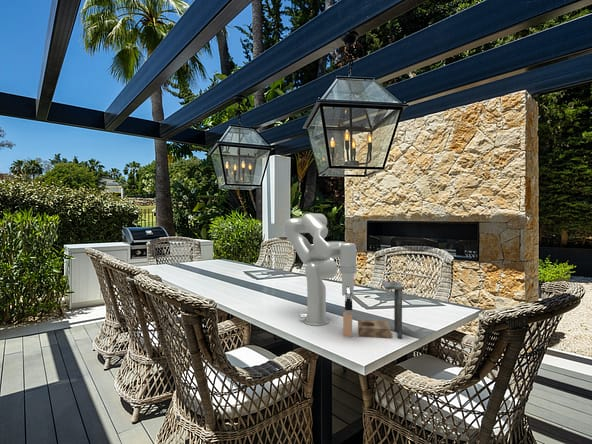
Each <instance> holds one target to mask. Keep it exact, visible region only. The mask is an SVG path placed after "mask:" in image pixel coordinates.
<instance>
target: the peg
mask: <svg viewBox="0 0 592 444" xmlns="http://www.w3.org/2000/svg"><path fill="white" fill-rule="evenodd" d="M342 325H343V327H342V330H343V331H342V334H343V335H342V337H344V338H346V337H348V338H353V312H350V311H349V312H348V311H344V312H343V313H342Z"/></svg>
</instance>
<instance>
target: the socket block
mask: <svg viewBox="0 0 592 444" xmlns="http://www.w3.org/2000/svg"><path fill="white" fill-rule="evenodd" d="M382 286H383V288H384V289H385V290H394V294H393V295H394V298H393V299H394V303H393V304H394V305H393V307H394V309H393V310H394V313H393V314H394V315H393V317H394V318H393V319H394V320H393V323H394V324H393V325H394V326H393V327H394V329H393V330H394V332H397V333H396V337H397V339H398V340H399V339H400V340H402V339H403V290H404V289H405V287H404V285H403V284H402V283H401V282H400V281H399V282H398V281H382ZM357 326H358V327H357V331H358V332H357V333H358V337H360V338H361V337H363V338H376V339H377V338H378V339H379V338H380V339H392V338H391V337H392V334H391V333H392V332H391V331H392V330H391V327H390V323H389V322H388V321H387V320H372V319H371V320H370V319H369V320H368V319H357Z"/></svg>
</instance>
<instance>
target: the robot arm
mask: <svg viewBox="0 0 592 444" xmlns="http://www.w3.org/2000/svg"><path fill="white" fill-rule="evenodd" d="M327 225H328V218H327V217H326V216H325V214H323V213H315V212H314V213H313V212H312V213H305V214H303V215H302V217H292V218H289V219H287V220H286V221H285V223H284V226H283V227H284V228H283V229H284V235H285V237H286V238H287V240H288V241H289V243H290V244H291V246H292V247H293V248H294V250H295V252H296V253H297V256H298V258H299V259H300V260H301V262H302V263H303V264H306V266H305V276H306V277H305V278H306V285H307V286H306V289H307V290H306V292H307V293H306V294H307V296H306V297H307V298H306V301H307V302H306V303H307V304H306V305H307V306H306V307H307V312H305V313H301V312H300V313H299V312H298V313H299V314H298V317H299V318H300V319H304V320H303V321H304V322H303V323H304V324H306V325H308V326H314V327H322V326H326V325H328V324H329V322H330V321H329V319H328V318H327V317H326V316H327V315H326V314H327V312H326V311H327V310H326V309H327V308H326V305H327V302H326V301H327V300H326V299H327V298H326V296H327V294H326V293H327V290H326V289H327V288H326V285H325V283H324V281H323V280H327V279H333V278H335V277H337V274H338V272H339V274H341V293H342V294H341V295H342V296H343V297H345V298H344V300H345V301H344V310H345V311H353V296H354V291H355V290H354V288H355V274H357V245H356V244H355V243H354V242H344V241H331V242H330V241H328V242H327V241H326V240H325V238H326V237H327V235H328V233H329V229H328V227H327ZM305 233H306V234H307V233H308V234H309V235H310V236H312V243H313V244H312V245H311V243H310V242H309V240H308V239H307V238H306V237H305V236H304V235H302V234H305ZM338 258H339V271H338V265H337V264H336V261H335V260H334V259H338Z"/></svg>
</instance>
